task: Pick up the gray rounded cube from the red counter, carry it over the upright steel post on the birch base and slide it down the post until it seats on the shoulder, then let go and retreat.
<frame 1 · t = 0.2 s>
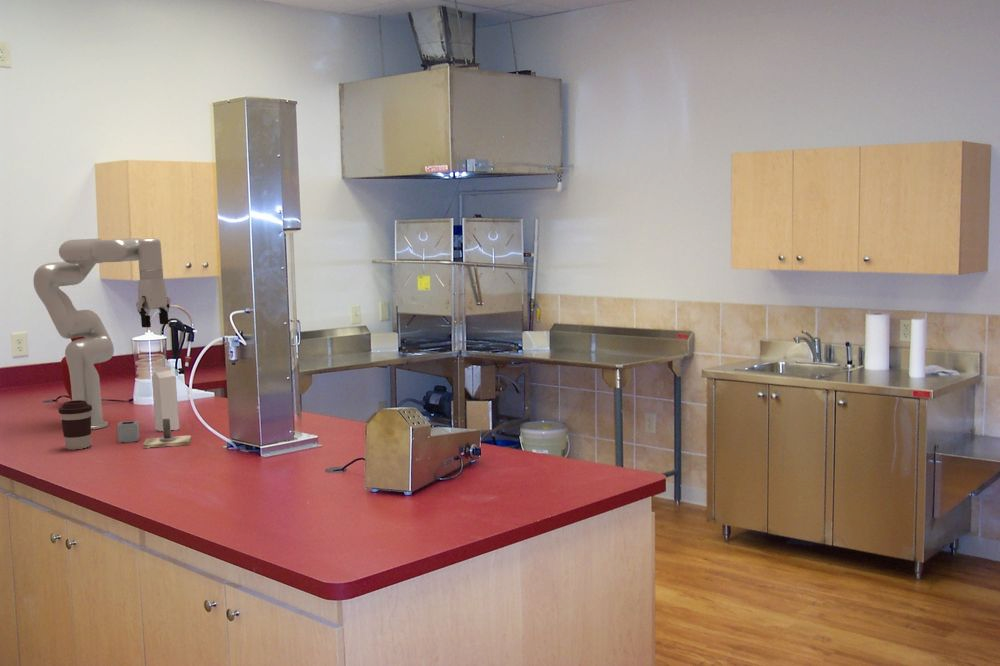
hand: (155, 325, 351), 37 cm above the counter, tool pointing down, fingers open, 9 cm apart
gray rounded cube: (129, 440, 342), on the counter
shaft stand: (167, 443, 335), on the counter
milk: (167, 430, 358), on the counter
coffee cup: (78, 448, 334), on the counter
vase: (84, 406, 412), on the counter
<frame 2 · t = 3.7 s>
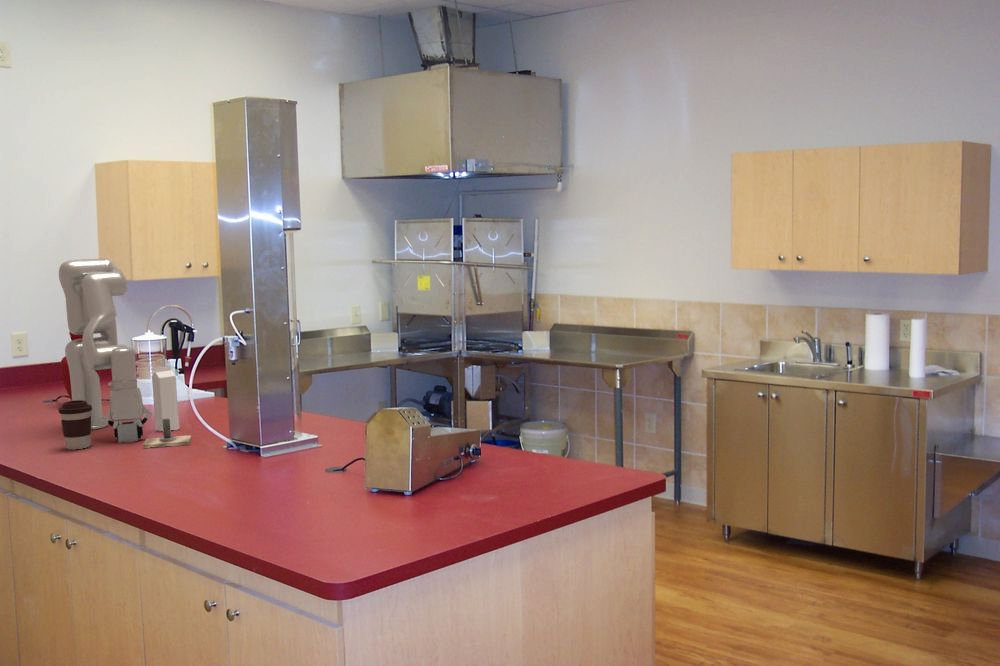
hand: (129, 438, 342), 1 cm above the counter, tool pointing down, fingers closed on gray rounded cube, 6 cm apart
gray rounded cube: (129, 440, 342), on the counter, touching gripper
everything else where it was.
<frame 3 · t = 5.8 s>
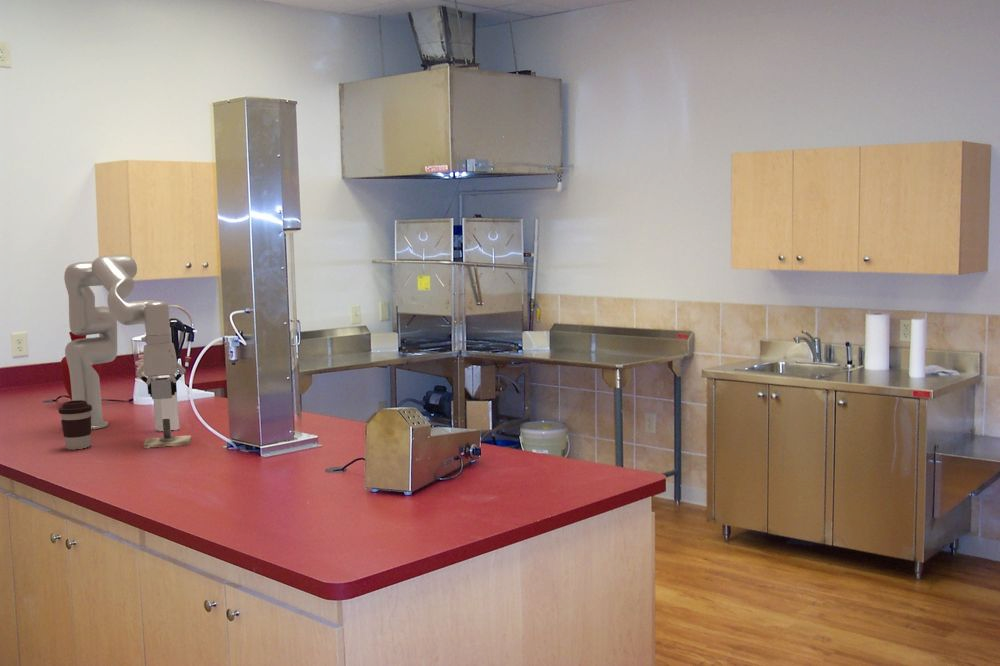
hand: (162, 394, 334), 16 cm above the counter, tool pointing down, fingers closed on gray rounded cube, 6 cm apart
gray rounded cube: (162, 397, 334), point 15 cm above the counter, touching gripper
everything else where it was.
when the fingers open (4 cm above the counter, at t = 8.2 s): gray rounded cube drops 1 cm, resting on shaft stand.
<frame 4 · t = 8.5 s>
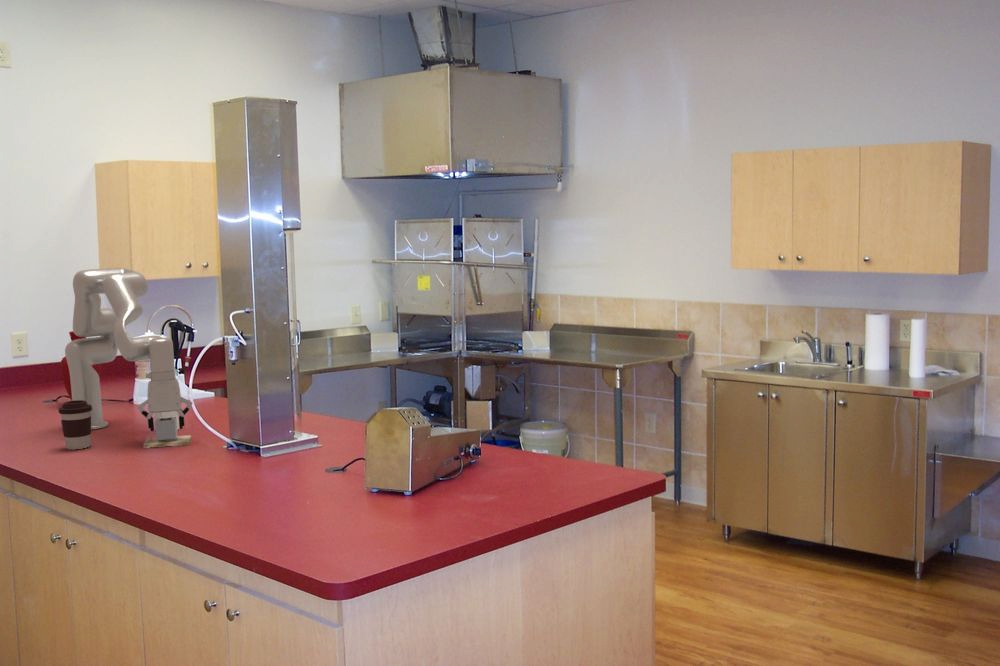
hand: (166, 429, 335), 5 cm above the counter, tool pointing down, fingers open, 8 cm apart
gray rounded cube: (167, 437, 335), point 2 cm above the counter, touching shaft stand
everything else where it was.
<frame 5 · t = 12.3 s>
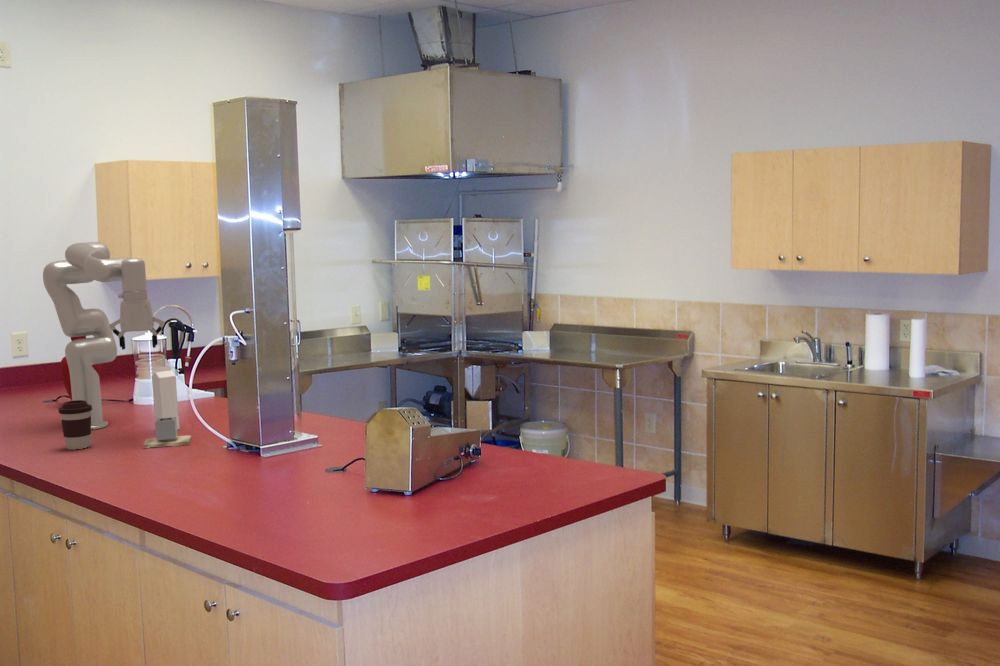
hand: (139, 348, 342), 30 cm above the counter, tool pointing down, fingers open, 9 cm apart
nothing on the counter moved.
at the end: gray rounded cube 0.1 cm from the shaft stand (horizontally); gray rounded cube point 2.0 cm above the counter; the gripper is holding nothing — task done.
